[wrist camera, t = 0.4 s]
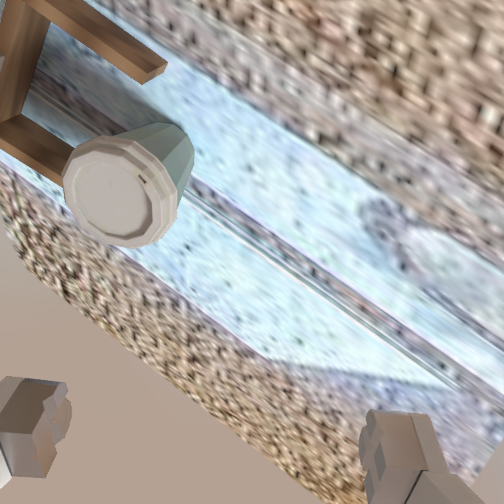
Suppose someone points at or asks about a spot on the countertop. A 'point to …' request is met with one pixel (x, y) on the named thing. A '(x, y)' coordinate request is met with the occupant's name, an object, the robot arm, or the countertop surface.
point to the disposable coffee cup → (129, 183)
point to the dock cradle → (25, 60)
